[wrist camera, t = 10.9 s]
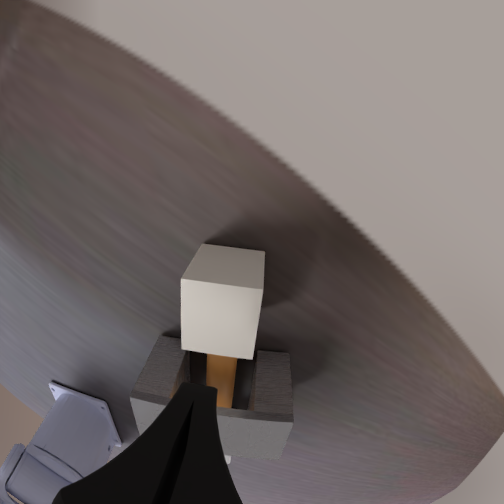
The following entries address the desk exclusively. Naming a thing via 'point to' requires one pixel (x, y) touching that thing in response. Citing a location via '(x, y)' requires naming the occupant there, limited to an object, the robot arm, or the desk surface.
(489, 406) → the desk surface
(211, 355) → the plug
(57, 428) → the robot arm
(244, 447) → the housing
